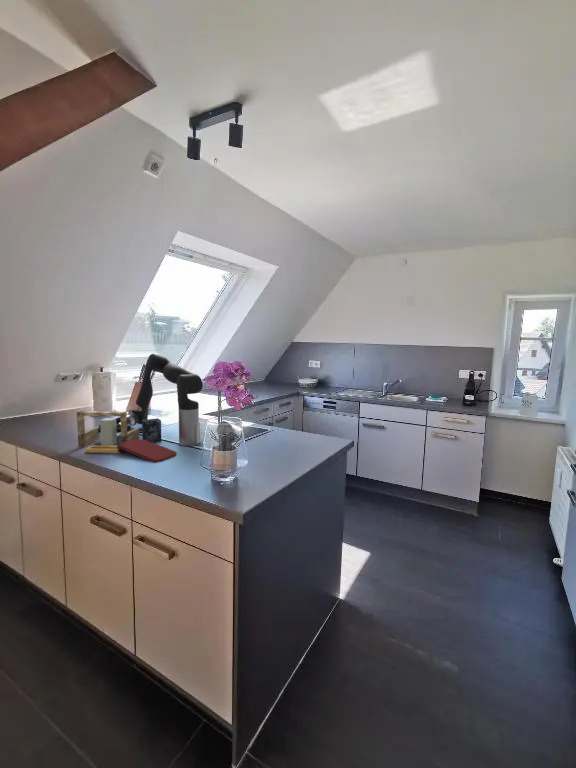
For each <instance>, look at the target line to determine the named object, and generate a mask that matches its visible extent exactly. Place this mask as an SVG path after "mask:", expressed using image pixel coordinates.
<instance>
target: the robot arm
mask: <svg viewBox="0 0 576 768" xmlns="http://www.w3.org/2000/svg"><path fill="white" fill-rule="evenodd" d="M152 372H156V373H160V374H163V377H164V378H165V379H166V380H167V381H168V382H170V383H172V384H175V385H176V394H177V403H178V406H177V407H178V445H180V446H181V447H182V446H184V447H192V446H198V445H199V444H200V443H201V423H200V421H199V420H200V418H199V416H200V413H199V412H200V411H199V408H200V407H199V406H200V405H199V402H198V401H196V400H194V399H190V398H189V397H188V395H194V394H197V393H200V392H201V391H202V390H203V389H204V383H203V380H202V378H201V377H200V375H199V374H196V373H194V372H190V371H188V370H187V369H185V368H183V367H182V366H180V365H179V364H177V363H175V362H172V361H171V360H170V359H169V358H168V357H166V356H163V355H160V354H157V353H151V354H150V355H149V356H148V358H147V361H146V363H145V368H144V373H143V377H142V381H141V382H142V383H141V386H140V390H139V392H138V396H137V398H136V400H135V405H137V406H138V407H139V408H141V410H139V409H137V408H131V409H130V410H128V411H127V432H129V431H131V430H133V427H134V426H136V425H137V424H138V425H142V420H147V419H148V417H149V407H150V403H151V400H152V398H153V394H154V390H153V385H152V379H151V377H152V375H151V374H152ZM98 427H99V428H98V432H99V433H100V434H101V428H100V425H98ZM116 427H117V434H119V433H120V434H121V419H120V416H118V417H117V418H116Z"/></svg>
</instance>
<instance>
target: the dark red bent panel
mask: <svg viewBox="0 0 576 768" xmlns="http://www.w3.org/2000/svg"><path fill="white" fill-rule="evenodd" d="M116 446H117V448H119V452H120V453H119V454H121V453H124V452H127V453H130V454H132V455H134V456H137V457H139V458H141V459H144V460H146V461H149V462H152V463H160V462H163V461H166V460H168V459H171V458H173V457H176V455H177V451H175V450H172V449H171V448H168V447H165V446H162V445H159V444H157V443H156V442H149V441H147V440H144V439H141V438H139V439H134V440H130V441H126V442H123V443H121V442H120V443H116Z"/></svg>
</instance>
